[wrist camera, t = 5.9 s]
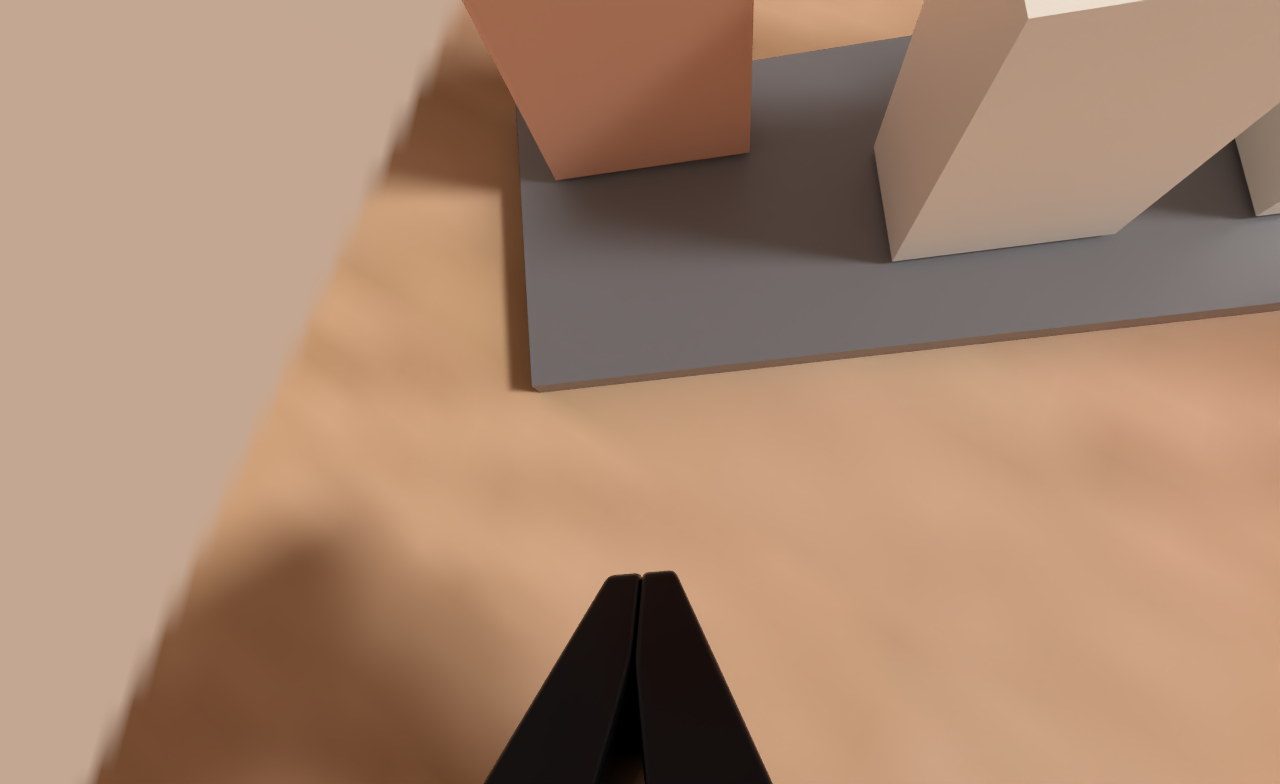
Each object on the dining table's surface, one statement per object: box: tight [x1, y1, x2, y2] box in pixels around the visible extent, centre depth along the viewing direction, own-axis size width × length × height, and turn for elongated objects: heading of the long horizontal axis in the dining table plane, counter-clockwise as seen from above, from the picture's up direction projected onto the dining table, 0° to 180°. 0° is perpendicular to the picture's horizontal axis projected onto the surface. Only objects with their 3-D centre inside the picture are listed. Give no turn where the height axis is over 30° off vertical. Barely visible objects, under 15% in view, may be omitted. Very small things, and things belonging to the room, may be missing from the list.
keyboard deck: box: [516, 36, 1280, 392], centre depth 18 cm, size 8×23×1 cm, turn 95°
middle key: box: [874, 0, 1280, 262], centre depth 13 cm, size 3×5×8 cm, turn 95°
